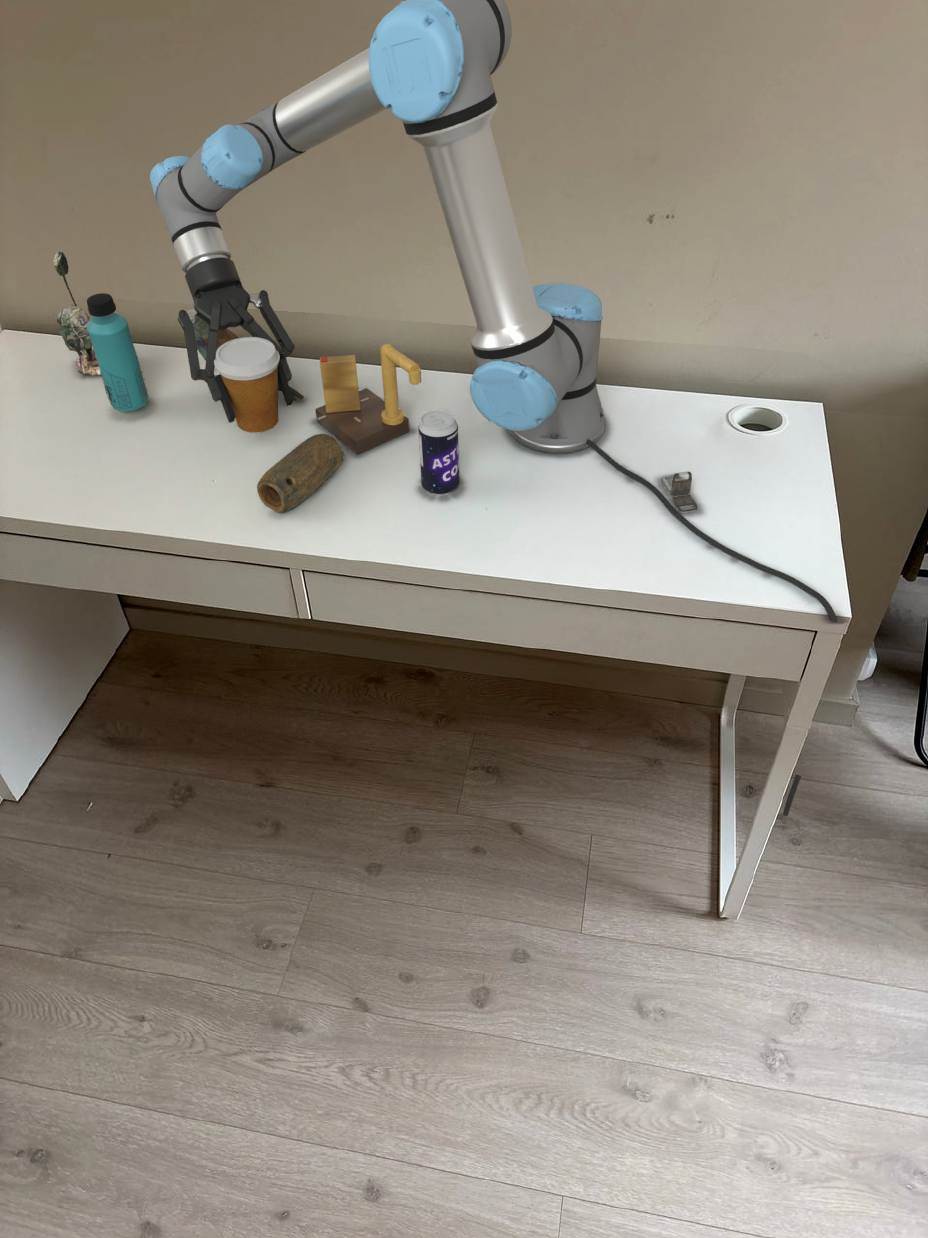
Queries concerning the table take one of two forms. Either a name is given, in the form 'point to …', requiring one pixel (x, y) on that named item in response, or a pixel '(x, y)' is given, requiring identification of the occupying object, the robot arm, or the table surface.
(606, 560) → the table surface
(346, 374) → the tap handle
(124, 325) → the beverage bottle
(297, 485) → the brown cylindrical piece
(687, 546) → the table surface
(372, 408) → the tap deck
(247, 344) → the disposable coffee cup
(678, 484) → the strap clip
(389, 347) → the tap spout
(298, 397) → the bird figurine
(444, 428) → the beverage can
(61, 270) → the plant with pod
